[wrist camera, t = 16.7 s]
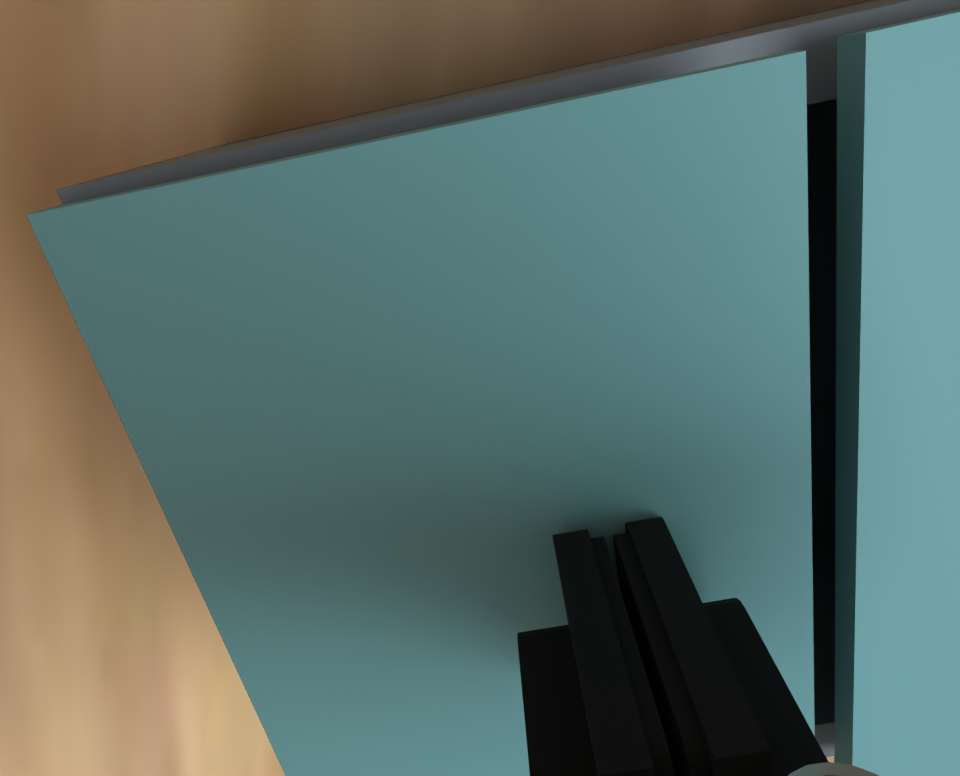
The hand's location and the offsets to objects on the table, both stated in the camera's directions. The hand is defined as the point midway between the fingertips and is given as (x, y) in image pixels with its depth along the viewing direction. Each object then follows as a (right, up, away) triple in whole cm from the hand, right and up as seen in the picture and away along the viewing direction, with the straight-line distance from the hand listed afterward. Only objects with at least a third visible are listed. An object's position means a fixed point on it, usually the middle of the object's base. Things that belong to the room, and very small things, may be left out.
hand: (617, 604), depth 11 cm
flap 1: (-2, 0, +1) cm, 2 cm away
